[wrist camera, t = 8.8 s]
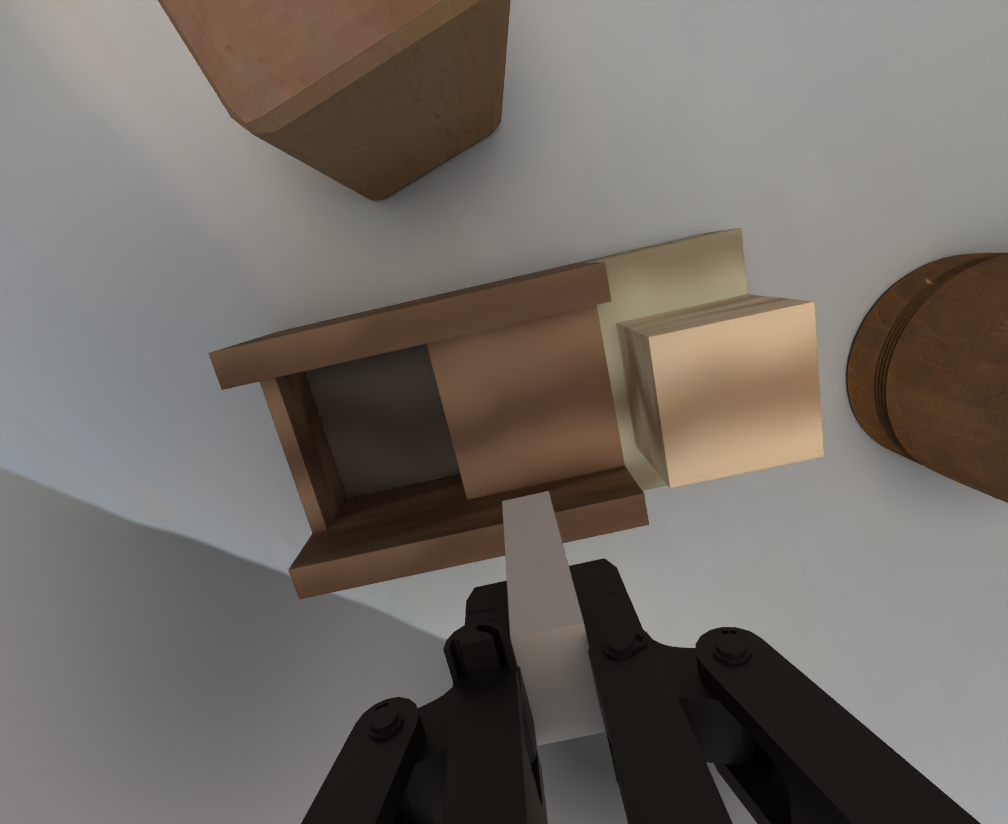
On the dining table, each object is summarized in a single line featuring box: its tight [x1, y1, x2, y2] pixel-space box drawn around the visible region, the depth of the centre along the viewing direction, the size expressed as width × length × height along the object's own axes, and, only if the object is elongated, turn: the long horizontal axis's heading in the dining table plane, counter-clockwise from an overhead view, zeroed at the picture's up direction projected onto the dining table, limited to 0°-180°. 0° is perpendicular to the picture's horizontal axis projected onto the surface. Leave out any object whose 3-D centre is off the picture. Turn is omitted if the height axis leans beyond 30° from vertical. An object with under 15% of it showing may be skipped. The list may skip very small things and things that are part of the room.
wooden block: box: [158, 0, 510, 200], centre depth 24 cm, size 10×10×20 cm
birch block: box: [616, 294, 824, 488], centre depth 31 cm, size 8×8×7 cm
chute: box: [209, 228, 748, 599], centre depth 34 cm, size 15×30×10 cm, turn 103°
